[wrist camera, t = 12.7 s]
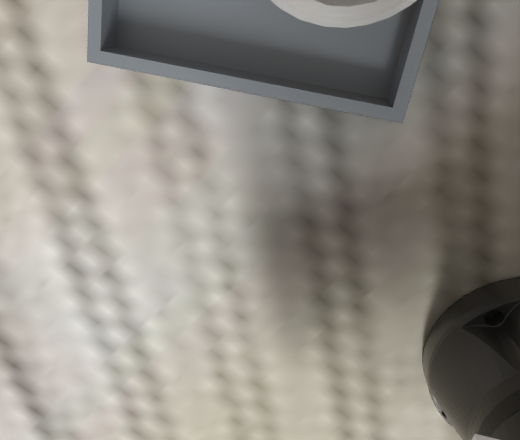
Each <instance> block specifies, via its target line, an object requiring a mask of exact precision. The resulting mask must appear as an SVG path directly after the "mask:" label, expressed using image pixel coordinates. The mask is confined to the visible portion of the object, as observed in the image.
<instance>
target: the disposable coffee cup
mask: <svg viewBox="0 0 520 440" xmlns="http://www.w3.org/2000/svg"><path fill="white" fill-rule="evenodd" d="M271 1H272V2H273V3H274V4H275V5H277V6H278V7H279V8H280V9H282V10H284V11H285V12H287V13H289V14H291V15H293V16H294V17H296V18H298V19H300V20H303V21H306V22H310V23H313V24H317V25H320V26H324V27H340V28H349V27H356V26H363V25H368V24H371V23H374V22H377V21H380V20H383V19H386V18H389V17H391V16H393V15H395V14H396V13H398V12H400V11H402V10H403V9H405V8H407V7H408V6H410V5H412V4H413V3H414V2H415V1H417V0H271Z"/></svg>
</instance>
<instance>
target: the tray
mask: <svg viewBox="0 0 520 440" xmlns="http://www.w3.org/2000/svg"><path fill="white" fill-rule="evenodd" d="M438 2H439V0H417V1H415V2H414V3H413V4H412V5H410V6H408V7H407V8H405V9H403V10H402V11H400V12H398V13H396V14H395V15H393V16H391V17H389V18H386V19H383V20H380V21H377V22H374V23H371V24H368V25H363V26H356V27H349V28H340V27H324V26H320V25H317V24H313V23H310V22H306V21H303V20H300V19H298V18H296V17H294V16H293V15H291V14H289V13H287V12H285V11H284V10H282V9H280V8H279V7H278V6H277V5H275V4H274V3H273V2H272V1H271V0H89V6H88V50H87V62H91V63H96V64H101V65H106V66H111V67H116V68H121V69H127V70H132V71H137V72H142V73H147V74H152V75H157V76H162V77H168V78H173V79H178V80H183V81H188V82H193V83H198V84H203V85H208V86H214V87H219V88H224V89H229V90H234V91H239V92H244V93H249V94H255V95H260V96H265V97H270V98H275V99H280V100H285V101H290V102H295V103H301V104H306V105H311V106H316V107H321V108H326V109H331V110H336V111H342V112H347V113H352V114H357V115H362V116H367V117H372V118H377V119H382V120H388V121H393V122H398V123H402V122H403V119H404V115H405V112H406V109H407V105H408V102H409V99H410V95H411V92H412V89H413V85H414V82H415V79H416V75H417V72H418V69H419V65H420V62H421V59H422V55H423V52H424V48H425V45H426V42H427V38H428V35H429V32H430V28H431V25H432V22H433V18H434V15H435V12H436V8H437V5H438Z"/></svg>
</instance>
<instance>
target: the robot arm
mask: <svg viewBox="0 0 520 440" xmlns="http://www.w3.org/2000/svg"><path fill="white" fill-rule="evenodd" d="M423 369H424V375H425V378H426V382H427V385H428V389H429V392H430V395H431V398H432V400H433V402H434V404H435V406H436V408H437V409H438V411H439V412H440V414H441V415H442V416H443V418H444V419H445V420H446V421H447V422H448V423H449V424H450V425H451V426H452V427H453V428H454V429H455V430H456V431H457V432H458V434H459V435H460V437H461V438H462V439H463V440H520V278H514V279H509V280H504V281H500V282H496V283H493V284H490V285H488V286H485V287H483V288H480V289H478V290H476V291H474V292H472V293H470V294H468V295H467V296H465V297H464V298H462V299H460V300H459V301H458V302H456V303H455V304H454V305H453V306H451V307H450V308H449V309H448V310H447V311H446V312H445V313H444V314H443V315H442V316H441V317H440V319H439V320H438V321H437V322H436V324H435V325H434V327H433V328H432V330H431V332H430V334H429V336H428V338H427V341H426V344H425V348H424V353H423Z"/></svg>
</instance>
